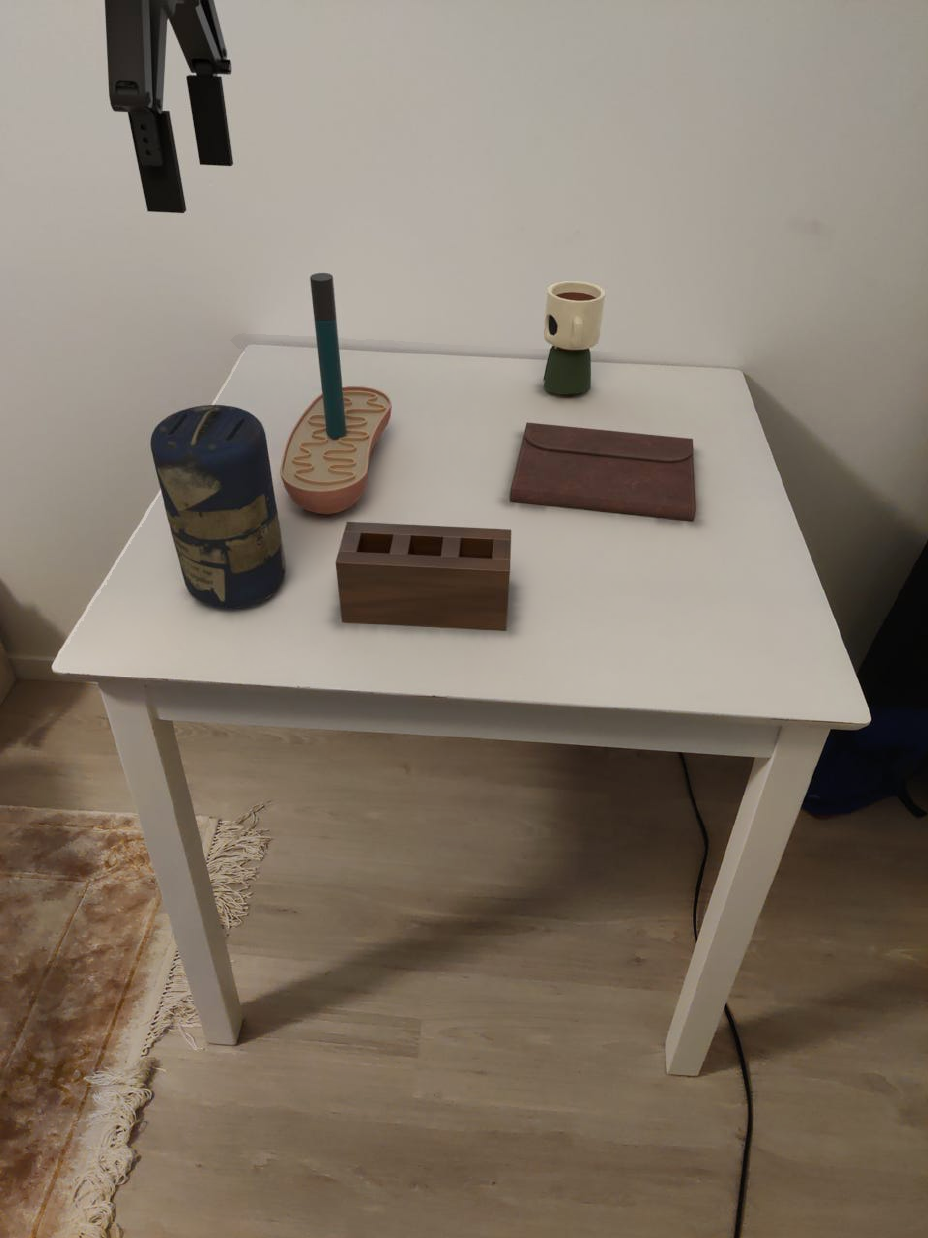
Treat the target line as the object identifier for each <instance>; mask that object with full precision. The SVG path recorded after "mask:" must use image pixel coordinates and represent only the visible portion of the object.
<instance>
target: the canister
mask: <svg viewBox="0 0 928 1238" xmlns="http://www.w3.org/2000/svg"><path fill="white" fill-rule="evenodd" d="M261 422H262V421H260V419H259V418H258V417H256V415H254V414H252V413H251V412H250V411H247V410H246V409H243V408H240V407H236V406H231V405H224V404H204V405H198V406H193V407H188V408H184V409H182V410H178V411H176V412H174V413H172V414H170V415H168V416H167V417H165V418H164V419H162V420H161V421H160V422H159V423H158V424H157V425H156V426H155V427H154V429H153V431H152V433H151V436H150V443H149V445H150V451H151V454H152V460H153V464H154V468H155V472H156V476H157V480H158V484H159V488H160V493H161V496H162V499H163V506H164V510H165V514H166V518H167V522H168V525H169V528H170V534H171V537H172V542H173V544H174V548H175V551H176V554H177V558H178V562H179V567H180V570H181V574H182V579H183V582H184V584H185V585H184V586H185V587H186V589H187V591H188V593H189V594H190V595H191V596H192V597H193V598H194V599H196V600H197V601H199V602H200V603H202V604H204V605H205V606H209V607H212V608H217V609H229V610H230V609H239V608H245V607H249V606H252V605H256V604H258V603H261V602H263V601H264V600H266V599H267V598H269V597H270V596H272V595H273V594H274V593H275V592H276V591H277V590H278V589H279V588H280V587H281V586H282V584H283V581H284V580H285V576H286V559H285V551H284V546H283V538H282V531H281V524H280V520H279V519H280V518H279V511H278V506H277V501H276V495H275V489H274V482H273V473H272V468H271V462H270V455H269V454H270V453H269V448H268V442H267V441H268V440H267V435H266V431H265V429H264V426H263V424H262V423H261Z"/></svg>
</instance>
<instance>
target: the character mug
mask: <svg viewBox="0 0 928 1238" xmlns="http://www.w3.org/2000/svg"><path fill="white" fill-rule="evenodd" d="M546 293H547V294H546V303H545V304H546V306H545V315H544V331H543V337H544V340H545V342H546V343H548V344H549V345H551V347H550V349H549V352H548V357H547V361H546V364H545V369H544V375H543V380H542V383H543V388H544V389H546V390H547V391H548V392H550V393H552V394H556V395H572V394H573V395H574V394H581V393H585V392H588V391H589V389H591V387H592V356H591V350H590V349H592V348H594V347H595V346H596V345H598V344H599V340H600V336H601V329H602V322H603V321H602V320H603V313H604V305H605V297H606V291H605V290H604V288H602V287H601V286H599V285H597V284H595V283H591V282H588V281H581V280H579V281H578V280H565V281H560V282H556V283H554V284H551V285H549V286H548V288H547V292H546Z"/></svg>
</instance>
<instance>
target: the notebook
mask: <svg viewBox="0 0 928 1238" xmlns="http://www.w3.org/2000/svg"><path fill="white" fill-rule="evenodd" d="M694 450H695V449H694V439H693V438H687V437H679V436H678V437H677V436H668V435H656V434H646V433H639V432H638V433H636V432H627V431H617V430H606V429H598V428H597V429H596V428H586V427H577V426H567V425H559V424H558V425H557V424H547V423H537V422H529V421H528V422H526V423H525V427H524V431H523V438H522V441H521V445H520V449H519V453H518V458H517V460H516V461H517V462H516V466H515V469H514V474H513V478H512V482H511V486H510V491H509V493H510V494H509V501H510V502H518V503H526V504H535V505H543V506H553V507H560V508H570V509H571V508H572V509H578V510H588V511H595V512H596V511H598V512H606V513H613V514H623V515H633V516H634V515H635V516H641V517H650V518H661V519H669V520H678V521H688V522H694V521H695V518H696V512H697V504H696V503H697V502H696V483H695V482H696V481H695V463H694Z"/></svg>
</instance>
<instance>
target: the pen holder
mask: <svg viewBox="0 0 928 1238" xmlns="http://www.w3.org/2000/svg"><path fill="white" fill-rule="evenodd" d="M511 557H512V529H510V528H509V529H507V528H488V527H487V528H486V527H467V526H466V527H465V526H448V525H447V526H446V525H425V524H423V525H422V524H404V523H383V522H382V523H381V522H366V521H365V522H363V521H346V523H345V527H344V530H343V535H342V539H341V541H340V545H339V549H338V553H337V555H336V559H335V570H336V579H337V581H336V582H337V588H338V589H337V590H338V600H339V608H340V618H341V622H342V623H351V624H352V623H353V624H373V625H388V626H389V625H390V626H391V625H392V626H410V627H428V628H446V629H447V628H448V629H469V630H486V631H504V632H505V631H507V624H508V610H509V609H508V608H509V597H510V596H509V595H510V579H511V560H512V559H511Z"/></svg>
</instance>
